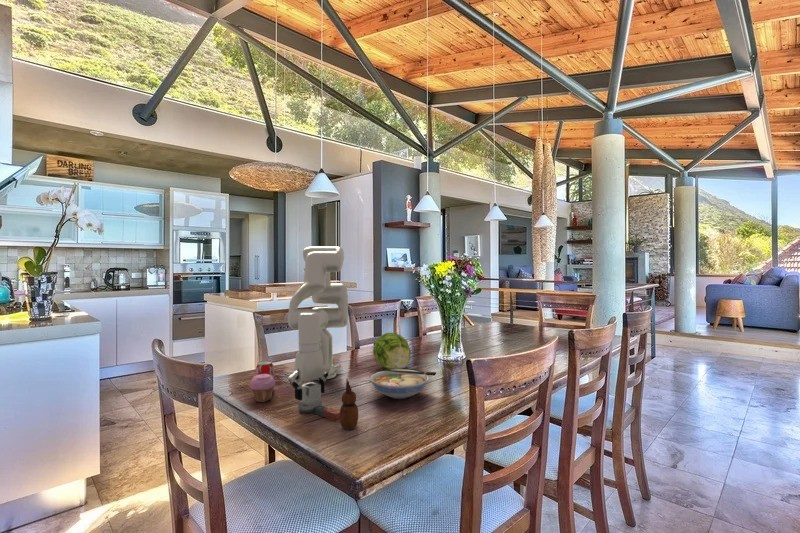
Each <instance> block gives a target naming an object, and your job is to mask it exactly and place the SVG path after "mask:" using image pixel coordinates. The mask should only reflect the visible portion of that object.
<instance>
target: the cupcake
mask: <svg viewBox="0 0 800 533" xmlns="http://www.w3.org/2000/svg"><path fill="white" fill-rule="evenodd" d="M275 386H276V380H275V377H274V378H273V377H272V376H270V375H269V374H261V375H256V374H255V375H254V376H252V378H251V380H250V384H249V387H250V389H251V390H252V393H253V397H254V400H255V401H256V402H259V403H266V402H267V401H269V400H271V399H272V398H273V391H272V390H273V387H274V388H275Z"/></svg>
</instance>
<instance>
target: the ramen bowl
mask: <svg viewBox="0 0 800 533" xmlns="http://www.w3.org/2000/svg"><path fill="white" fill-rule="evenodd" d="M375 371H378V372H376V373H373V374H371V376H370V377H369V380H370V382H371V383H372V385H373V386H374V388H375V389H376V391H377V392H378V393H380V394H382V395H384V396H386V397H388V398H389V397H390V398H391V399H393V400H394V399H395V400H396V399H397V400H404V399H408V398H409V397H413V396H415V395H417V394H418V393H420V392H421V391H423V389H424V388H425V387H426V385H427V383H428V380H429V376H436V375H437V372H436V371H417V370H413V369H412V370H411V369H401V370H399V369H398V370H387V369H378V368H376V369H375Z"/></svg>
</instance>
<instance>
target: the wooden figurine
mask: <svg viewBox="0 0 800 533" xmlns="http://www.w3.org/2000/svg"><path fill="white" fill-rule="evenodd" d="M345 382H346V384H345V391H343V393H342V394H341V402H342V404H341V406H340V409H339V411H340V420H339V421H340V425H341V428H342V429H344V430H346V431H349V430H354V429H355V428H356V427H357V425H358V422H359V408H358V405H357V403H356V401H357V394H356V392H355V391H354V390H353V389H352V388H351V384H350V381H349V380H348V378H346V381H345Z"/></svg>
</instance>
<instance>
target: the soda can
mask: <svg viewBox="0 0 800 533" xmlns="http://www.w3.org/2000/svg"><path fill="white" fill-rule="evenodd" d="M261 374H269V375H270V376H272V377H273V378H274V379H275V365H274V364H273V361H272V360H262V361H258V362H257V364H256V366H255V376H256V375H261ZM274 390H275V386H274V387H273V390H272V392H274Z"/></svg>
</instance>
